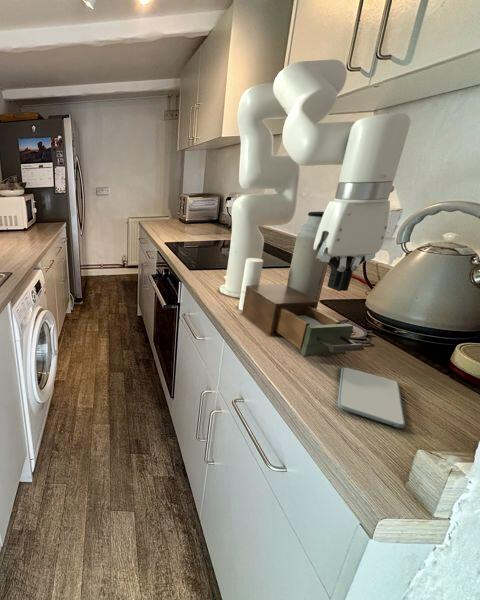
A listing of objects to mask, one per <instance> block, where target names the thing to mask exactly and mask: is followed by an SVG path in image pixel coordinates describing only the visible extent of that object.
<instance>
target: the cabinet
mask: <svg viewBox="0 0 480 600" xmlns="http://www.w3.org/2000/svg"><path fill="white" fill-rule="evenodd" d="M317 303H318V304H319V302H317V301H315V300H313V299H311V298H309V297H307V296H305V295H303V294H301V293H299V292H297V291H295V290H293V289H291V288H289V287H287V285H286V284H283V283H275V284H273V283H271V284H259V285H251V286H246V292H245V298H244V304H243V311H242V310H241V315H243V316H244V317H245V318H246V319H248V320H249V321H250V322H252V323H253V324H254V325H256V326H257V328H259V329H260V330H262V331H263V332H264V333H266V334H267V335H268V336H269V337H273V336H281V335H280V334H279V333H278V332H276V331H275V330H274V327H275V323H276V318H277V313H278V308H279V307H281V306H301V305H310V306H312V307H314V308H315V309H316V307H317V308H318V306H317Z"/></svg>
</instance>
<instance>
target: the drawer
mask: <svg viewBox="0 0 480 600" xmlns="http://www.w3.org/2000/svg"><path fill="white" fill-rule="evenodd" d="M304 315H306V316H310V317H312V318H314V319H315V320H317V321H319V322H321V323H322V324H324V325H312V326H309V324H310V323H308V322H306V321H305V320H303V319H302V318H300V317H298V316H304ZM354 327H355V326H354V324H351V323H341V321H340V320H338V319H336V318H334V317H332V316H330V315H329V314H327V313H325V312H323V311H321V310H319V309H318V308H317V309H315V308H314V307H312V306H310V305H301V306H281V307H279V308H278V313H277V318H276V323H275V327H274V330H275V331H276V332H278V333H279V334H280V335H279V336H281V337H283V338H284V339H286V340H287V341H289V342H290V343H291V344H293V345H294V346H295V347H297V348H298V349H299V350H301V351H300V354H301V355H302V356H303V357H319V356H320V357H322V356H340V355H341V356H342V355H346V353H348V352H349V353H350V352H363V351H364V350H365V346H364V344H363V343H357V342H354V341H353V340H351V337H352V334H353V330H354Z"/></svg>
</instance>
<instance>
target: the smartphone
mask: <svg viewBox="0 0 480 600" xmlns="http://www.w3.org/2000/svg"><path fill="white" fill-rule="evenodd" d="M336 406H337V407H338V408H339V409H340V410H342V411H345V412H348V413H351V414H355V415H358V416H360V417H364V418H367V419H371V420H373V421H376V422H380V423H382V424H385V425H388V426H392V427H395V428H397V429H403V428H405V427H406V419H405V415H404V409H403V401H402V396H401V390H400V384H399V381H397V380H395V379H392V378H388V377H385V376H380V375H378V374H377V375H376V374H372V373H369V372H365V371H362V370H359V369H353V368H349V367H345V366H344V367H341V370H340V376H339V387H338V394H337V405H336Z"/></svg>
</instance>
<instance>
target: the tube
mask: <svg viewBox="0 0 480 600" xmlns="http://www.w3.org/2000/svg"><path fill="white" fill-rule="evenodd" d="M263 265H264V259H262V258H261V259H258V258H247V259H246V263H245V270H244V276H243V283H242V289H241V296H240V298H239V302H238V309H239V310H240V311H241V312H242V311H243V304H244V298H245V292H246V286H251V285H260V283H261V276H262V270H263Z"/></svg>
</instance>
